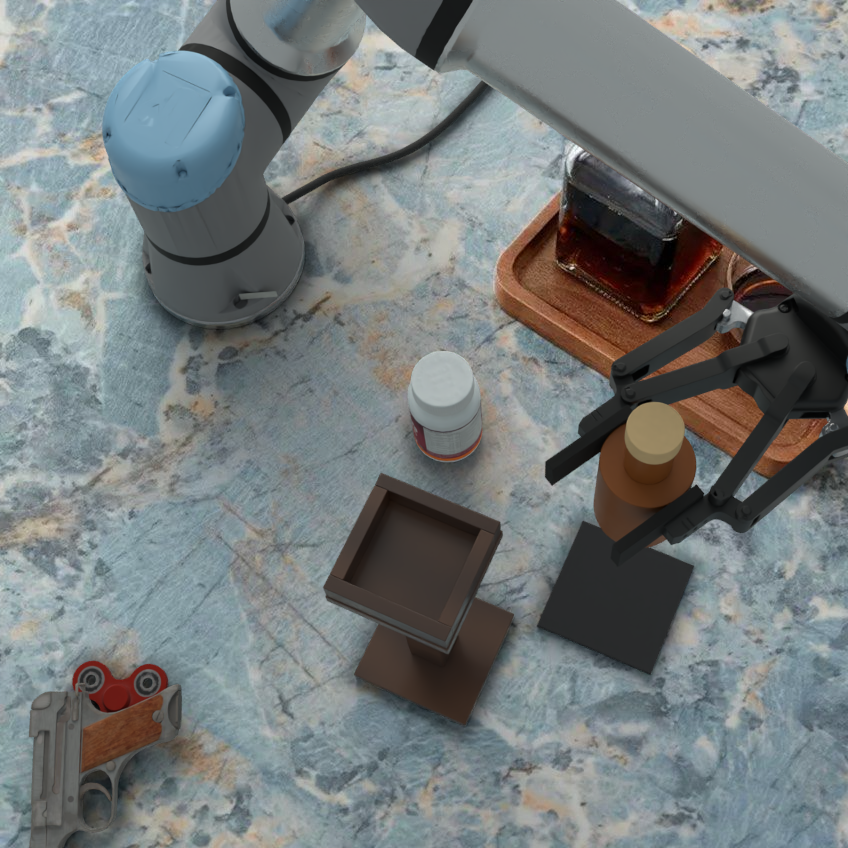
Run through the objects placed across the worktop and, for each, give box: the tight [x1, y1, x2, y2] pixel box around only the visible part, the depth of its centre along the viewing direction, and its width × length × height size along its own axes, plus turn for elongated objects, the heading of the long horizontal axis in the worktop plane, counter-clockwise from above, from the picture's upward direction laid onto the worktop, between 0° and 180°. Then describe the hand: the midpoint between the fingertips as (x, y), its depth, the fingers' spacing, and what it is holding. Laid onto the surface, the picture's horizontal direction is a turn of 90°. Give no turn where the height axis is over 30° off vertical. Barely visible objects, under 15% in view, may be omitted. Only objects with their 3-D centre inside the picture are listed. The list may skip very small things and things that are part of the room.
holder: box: [322, 472, 515, 728], centre depth 97 cm, size 10×10×25 cm
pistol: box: [28, 683, 183, 848], centre depth 104 cm, size 19×2×12 cm
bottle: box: [592, 402, 697, 548], centre depth 82 cm, size 6×6×13 cm
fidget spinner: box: [71, 660, 169, 713], centre depth 108 cm, size 8×7×1 cm
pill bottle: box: [406, 350, 483, 463], centre depth 111 cm, size 6×6×11 cm
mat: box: [536, 520, 695, 676], centre depth 109 cm, size 10×10×1 cm
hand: (582, 513), depth 81 cm, fingers closed on bottle, 6 cm apart
